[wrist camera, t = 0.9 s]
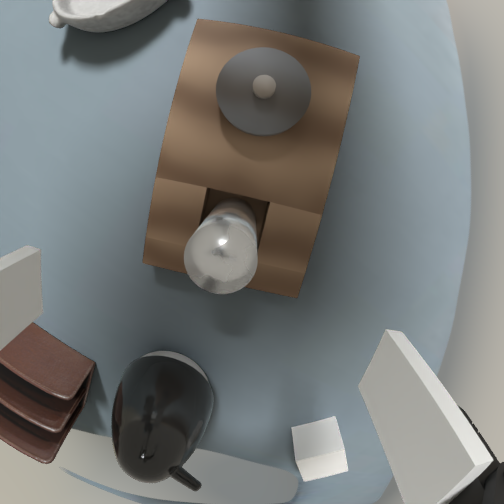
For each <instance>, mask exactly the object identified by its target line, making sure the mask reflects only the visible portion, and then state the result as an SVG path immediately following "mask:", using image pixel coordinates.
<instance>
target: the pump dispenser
mask: <svg viewBox="0 0 504 504" xmlns="http://www.w3.org/2000/svg"><path fill="white" fill-rule="evenodd" d="M213 403H214V396H213V391H212V388H211V386H210V384H209V382H208V379H207V377H206V375H205V373H204V372H203V370H202V369H201V368H200V367H199V366H198V365H197V364H196V363H195V362H194V361H193V360H191V359H190V358H188V357H186V356H184V355H182V354H179V353H176V352H172V351H155V352H151V353H148V354H146V355H144V356H142V357H141V358H138V359H136V360H134V361H133V362H131V363H130V364H129V365H128V366H127V368H126V369H125V371H124V372H123V374H122V376H121V379H120V381H119V384H118V388H117V391H116V394H115V398H114V403H113V409H112V422H111V428H112V442H113V448H114V453H115V456H116V459H117V461H118V464H119V465H120V467H121V468H122V470H123V471H124V472H125V473H126V474H127V475H129V476H130V477H132V478H133V479H135V480H138V481H141V482H145V483H157V482H160V481H163V480H165V479H167V478H168V477H172V478H174V479H175V480H177V481H178V482H180V483H182V484H183V485H185V486H186V487H188V488H190V489H192V490H193V491H198V490H199V489H200V488H201V483H200V482H199V481H198V480H196V479H195V478H194V477H193V476H192V475H190V474H189V473H188V472H187V471H185V470H184V469H183V468H182V466H183V464H184V463H185V462H186V461H187V460H188V459H189V457H190V456H191V455H192V453H193V452H194V451H195V449H196V447H197V446H198V444H199V442H200V441H201V439H202V437H203V435H204V432H205V430H206V428H207V425H208V422H209V419H210V416H211V413H212V409H213Z"/></svg>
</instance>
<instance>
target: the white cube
mask: <svg viewBox="0 0 504 504" xmlns="http://www.w3.org/2000/svg"><path fill="white" fill-rule="evenodd" d="M291 429H292V437H293V445H294V453H295V461H296V463H297V466H298V468H299V471H300V473H301V475H302V478H303V480H304V482H305V481H309V480H314V479H318V478H323V477H327V476H331V475H334V474H338V473H342V472H345V471H348V467H347V460H346V455H345V449H344V445H343V441H342V438H341V434H340V431H339V427H338V424H337V420H336V417H335V416H333V417H330V418H326V419H323V420H319V421H315V422H311V423H307V424H303V425H299V426H295V427H291Z"/></svg>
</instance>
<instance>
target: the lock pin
mask: <svg viewBox="0 0 504 504" xmlns="http://www.w3.org/2000/svg"><path fill="white" fill-rule="evenodd" d="M257 262H258V256H257V235H256V216H255V213H254V210H253V208H252V207H251V206H250V204H249V203H247V202H246V201H244V200H242V199H240V198H227V199H224V200H222V201H221V202H219V203H218V204H217V205H216V206H215V207H214V209H213V210H212V211H211V212H210V214H209V215H208V216H207V217H206V219H205V220H204V221H203V222H202V224H201V225H200V226H199V228H198V229H197V230H196V231H195V233H194V234H193V235H192V236H191V238H190V239H189V241H188V242H187V245H186V247H185V251H184V264H185V268H186V271H187V273H188V275H189V277H190V278H191V279H192V281H193V282H194V283H195V284H196V285H198V286H199V287H200V288H202V289H204V290H206V291H208V292H211V293H215V294H229V293H233V292H236V291H238V290H240V289H242V288H243V287H245V286H246V285H247V284H248V283H249V282H250V281H251V279H252V278H253V276H254V274H255V272H256V269H257Z"/></svg>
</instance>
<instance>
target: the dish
mask: <svg viewBox="0 0 504 504" xmlns="http://www.w3.org/2000/svg"><path fill="white" fill-rule="evenodd" d="M166 1H167V0H53V9H54V11H53V12H52V13H51V14H50V16H49V23H50V24H51V25H52V26H54V27H56V28H63V27H64V26H65V25H66V24H69V25H71V26H73V27H75V28H78V29H81V30H84V31H89V32H109V31H114V30H118V29H121V28H124V27H126V26H129V25H131V24H133V23H136V22H137V21H139V20H141V19H143V18H144V17H146V16H148V15H149V14H151V13H152V12H154V11H155V10H156V9H158V8H159V7H160V6H162V5H163V4H164V3H165V2H166Z"/></svg>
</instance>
